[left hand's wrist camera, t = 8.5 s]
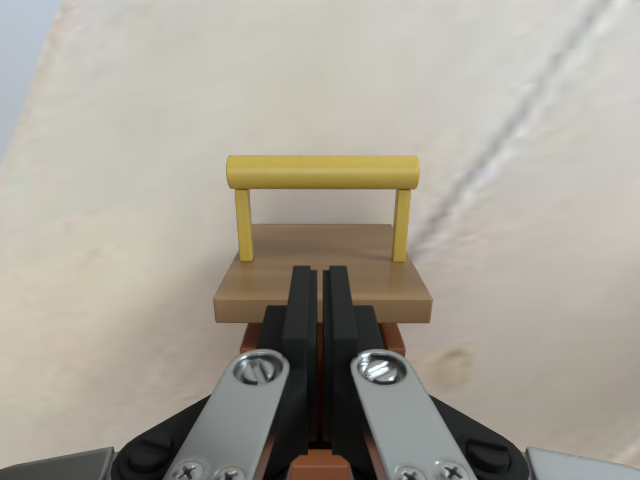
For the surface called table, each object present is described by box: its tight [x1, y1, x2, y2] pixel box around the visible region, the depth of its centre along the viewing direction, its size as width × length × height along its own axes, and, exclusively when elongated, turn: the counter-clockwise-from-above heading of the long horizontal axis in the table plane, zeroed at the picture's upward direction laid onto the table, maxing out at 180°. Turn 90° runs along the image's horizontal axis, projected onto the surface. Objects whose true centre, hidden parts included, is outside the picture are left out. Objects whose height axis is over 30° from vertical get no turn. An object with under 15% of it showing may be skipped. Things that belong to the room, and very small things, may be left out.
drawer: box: [213, 155, 433, 449], centre depth 22 cm, size 24×9×10 cm, turn 0°
